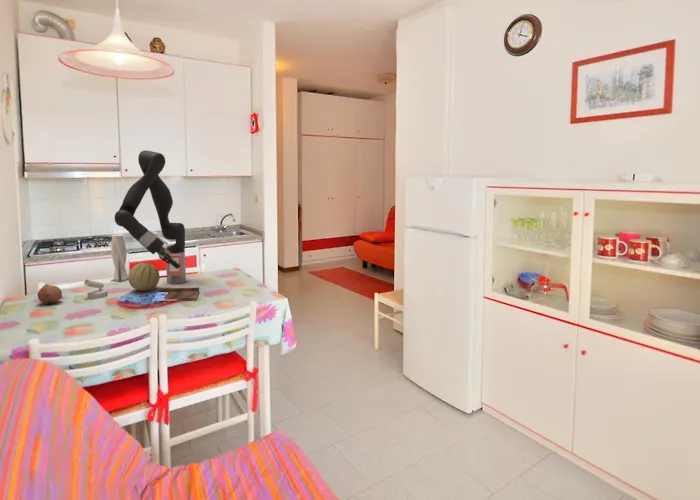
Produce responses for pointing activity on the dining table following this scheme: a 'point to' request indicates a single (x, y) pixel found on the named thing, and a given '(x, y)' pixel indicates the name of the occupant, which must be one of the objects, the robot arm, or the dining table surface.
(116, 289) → the dining table surface
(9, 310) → the dining table surface
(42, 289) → the brown round lump
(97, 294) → the security camera
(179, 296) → the display ledge
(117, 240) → the skyscraper
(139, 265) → the cantaloupe
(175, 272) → the picture frame
